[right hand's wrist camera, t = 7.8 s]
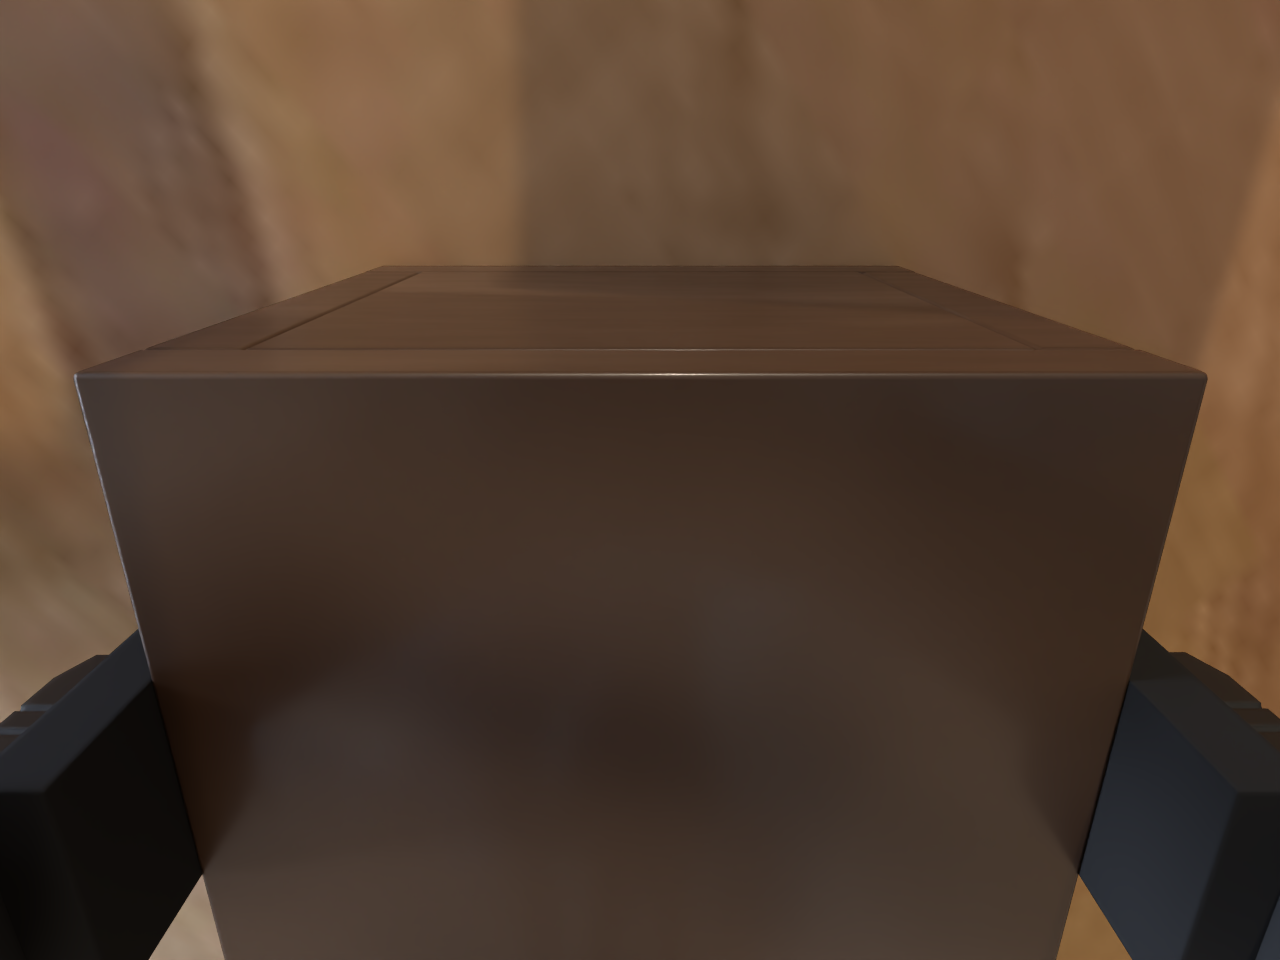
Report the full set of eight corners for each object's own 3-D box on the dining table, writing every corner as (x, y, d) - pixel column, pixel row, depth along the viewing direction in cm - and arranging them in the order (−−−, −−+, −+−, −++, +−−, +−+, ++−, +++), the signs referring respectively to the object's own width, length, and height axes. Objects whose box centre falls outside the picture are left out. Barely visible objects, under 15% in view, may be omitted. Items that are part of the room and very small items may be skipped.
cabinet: (814, 1012, 23) (916, 1499, 15) (465, 1012, 23) (363, 1499, 15) (899, 265, 16) (1213, 372, 7) (380, 265, 16) (67, 372, 7)
